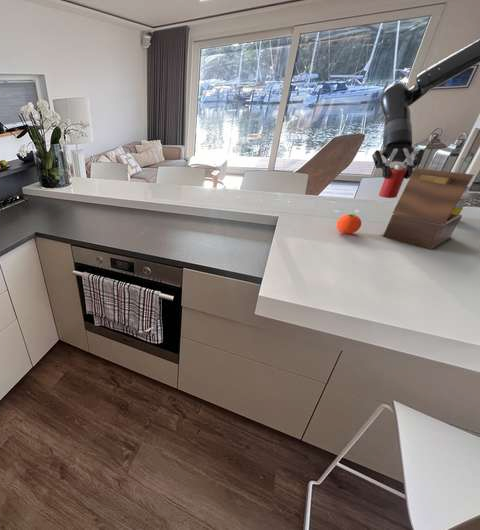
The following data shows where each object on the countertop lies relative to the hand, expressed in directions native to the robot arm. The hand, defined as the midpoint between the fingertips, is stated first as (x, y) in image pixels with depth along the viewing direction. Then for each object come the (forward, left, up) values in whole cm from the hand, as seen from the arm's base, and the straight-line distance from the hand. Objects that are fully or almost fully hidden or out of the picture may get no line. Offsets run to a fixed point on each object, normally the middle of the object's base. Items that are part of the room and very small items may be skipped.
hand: (397, 177), depth 100 cm
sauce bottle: (-2, -1, -7) cm, 7 cm away
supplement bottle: (-19, +12, -17) cm, 28 cm away
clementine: (+18, -2, -17) cm, 25 cm away
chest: (+5, +13, -17) cm, 22 cm away
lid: (+10, +13, -2) cm, 16 cm away
